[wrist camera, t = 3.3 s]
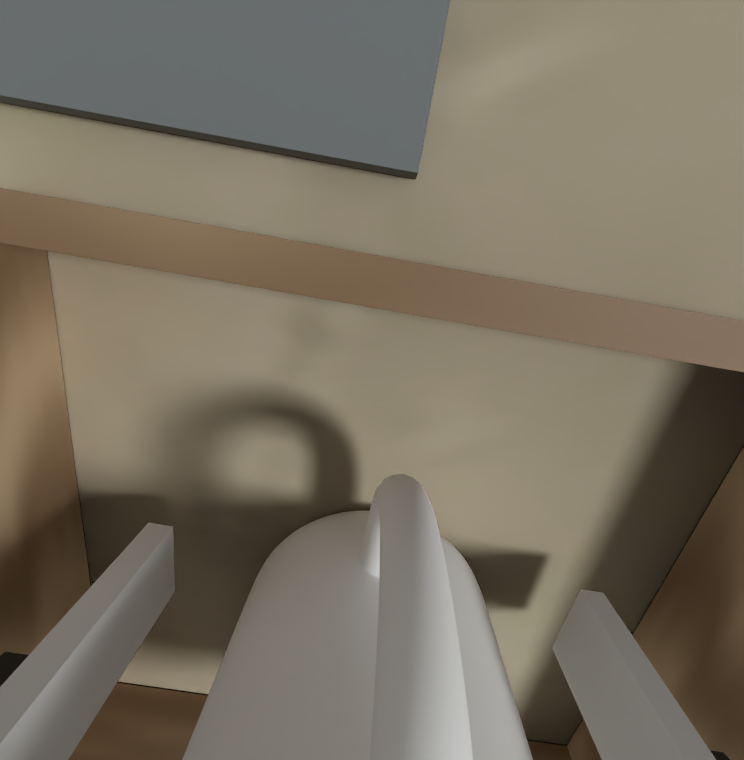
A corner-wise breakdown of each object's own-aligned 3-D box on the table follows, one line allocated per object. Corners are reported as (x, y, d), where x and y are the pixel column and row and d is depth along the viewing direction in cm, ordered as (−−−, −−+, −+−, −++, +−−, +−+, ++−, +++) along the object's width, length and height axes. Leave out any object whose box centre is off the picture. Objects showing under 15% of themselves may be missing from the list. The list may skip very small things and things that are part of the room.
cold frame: (8, 193, 9) (-271, 139, 5) (836, 341, 9) (1138, 392, 6) (86, 690, 15) (-12, 830, 11) (577, 758, 16) (638, 913, 12)
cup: (256, 653, 14) (-3, 1458, 5) (265, 385, 10) (-1148, 1860, 1) (452, 677, 14) (594, 1509, 5) (533, 421, 11) (2081, 2027, 1)
